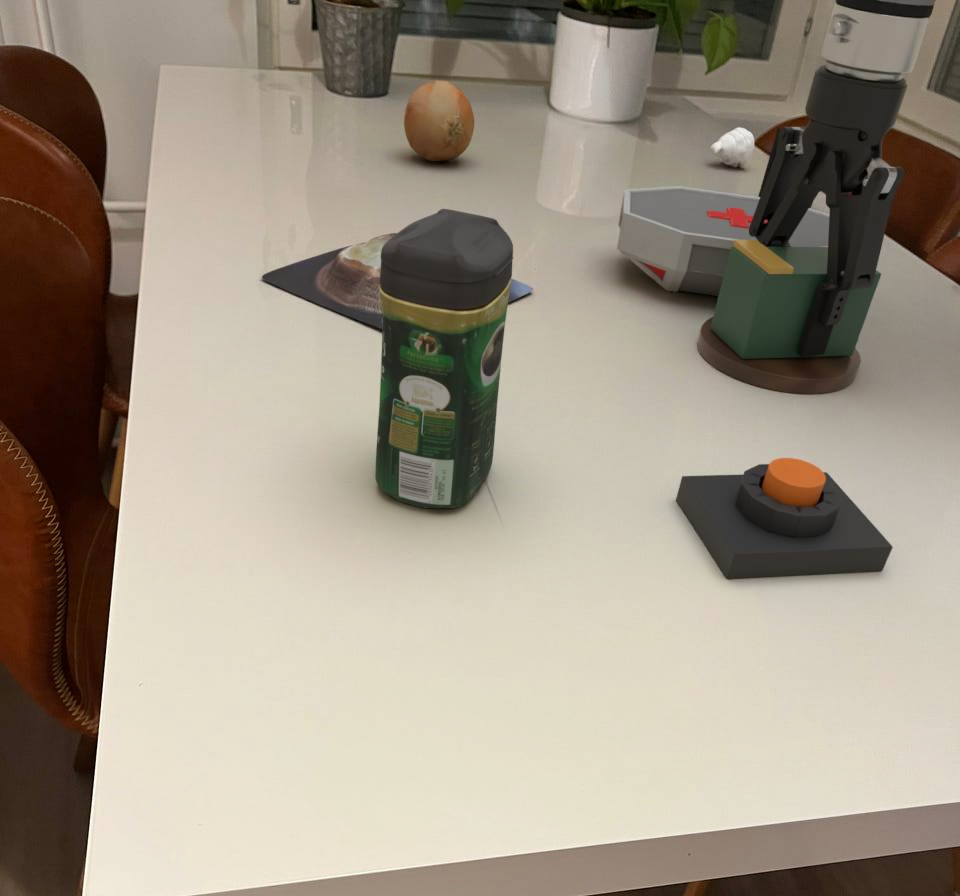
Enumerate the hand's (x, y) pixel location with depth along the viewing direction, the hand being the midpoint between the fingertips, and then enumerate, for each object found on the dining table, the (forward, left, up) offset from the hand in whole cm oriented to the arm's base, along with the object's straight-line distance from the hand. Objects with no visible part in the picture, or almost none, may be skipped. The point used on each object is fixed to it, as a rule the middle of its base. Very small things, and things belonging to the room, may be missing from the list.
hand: (783, 335), depth 96 cm
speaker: (-23, -47, -2) cm, 52 cm away
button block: (+14, +30, -2) cm, 33 cm away
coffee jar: (+38, +21, -2) cm, 44 cm away
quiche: (+35, -17, -2) cm, 39 cm away
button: (+14, +30, +1) cm, 33 cm away
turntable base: (0, 0, -2) cm, 2 cm away
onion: (+23, -64, -2) cm, 68 cm away
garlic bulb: (-23, -68, -2) cm, 72 cm away
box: (0, 0, -1) cm, 1 cm away
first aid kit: (-2, -19, -2) cm, 19 cm away
